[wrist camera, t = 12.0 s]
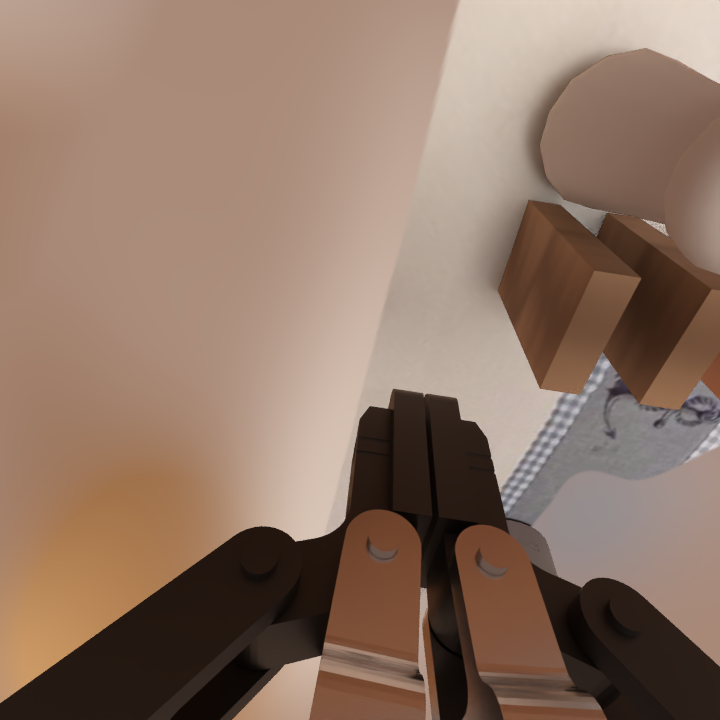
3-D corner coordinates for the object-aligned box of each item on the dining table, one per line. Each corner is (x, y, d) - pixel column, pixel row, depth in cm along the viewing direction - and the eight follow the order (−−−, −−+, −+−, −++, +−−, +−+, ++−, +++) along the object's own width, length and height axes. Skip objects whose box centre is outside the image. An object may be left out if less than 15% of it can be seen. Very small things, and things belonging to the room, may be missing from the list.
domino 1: (525, 295, 25) (579, 394, 18) (497, 290, 25) (540, 388, 18) (560, 205, 22) (641, 278, 15) (528, 200, 22) (594, 270, 15)
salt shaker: (506, 172, 22) (612, 283, 11) (569, 30, 18) (809, -11, 8) (615, 208, 22) (818, 349, 11) (695, 78, 19) (1080, 102, 8)
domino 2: (595, 306, 25) (678, 409, 18) (568, 301, 25) (639, 403, 18) (639, 217, 22) (758, 296, 15) (607, 212, 22) (711, 289, 15)
